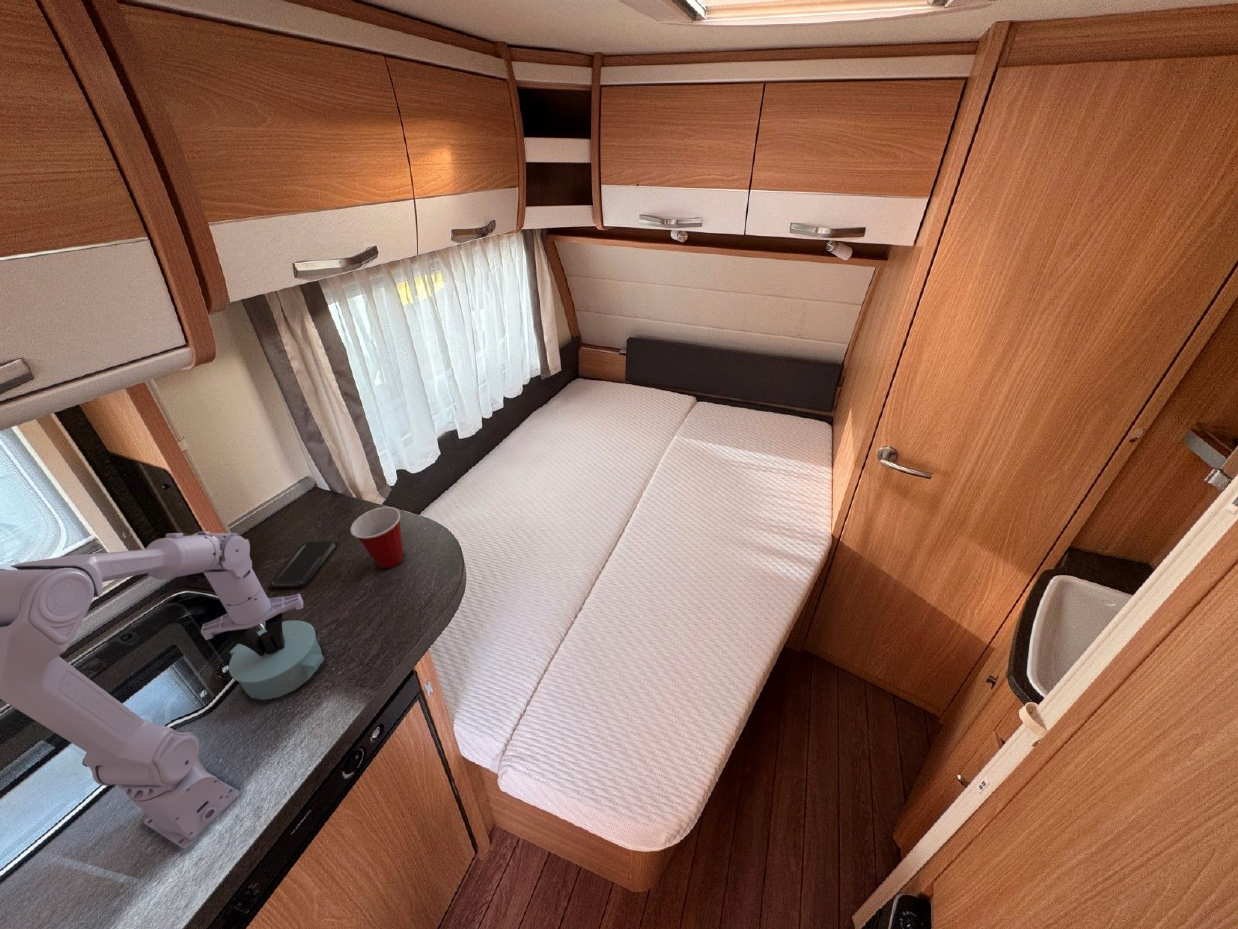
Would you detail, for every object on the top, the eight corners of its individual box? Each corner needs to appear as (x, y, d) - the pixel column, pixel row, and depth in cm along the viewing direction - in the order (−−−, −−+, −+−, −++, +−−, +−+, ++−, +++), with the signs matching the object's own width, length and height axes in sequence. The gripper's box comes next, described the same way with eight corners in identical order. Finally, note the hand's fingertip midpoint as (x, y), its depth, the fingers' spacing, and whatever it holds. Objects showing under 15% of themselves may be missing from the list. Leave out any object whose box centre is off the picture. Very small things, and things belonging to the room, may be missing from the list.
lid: (278, 692, 86) (268, 674, 84) (212, 679, 89) (200, 662, 86) (332, 629, 97) (325, 612, 95) (272, 620, 100) (263, 603, 98)
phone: (268, 584, 114) (304, 541, 127) (270, 588, 115) (306, 545, 127) (303, 583, 114) (335, 540, 127) (305, 587, 114) (337, 544, 127)
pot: (302, 709, 88) (290, 689, 86) (216, 692, 92) (202, 673, 89) (349, 650, 99) (340, 630, 96) (270, 637, 102) (260, 618, 100)
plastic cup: (358, 560, 122) (342, 520, 116) (402, 540, 128) (389, 500, 122) (374, 583, 115) (358, 542, 109) (420, 560, 121) (408, 520, 115)
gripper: (291, 564, 91) (317, 618, 98) (193, 593, 86) (228, 648, 93) (289, 589, 86) (317, 644, 93) (185, 622, 80) (222, 678, 87)
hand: (272, 648), depth 92 cm, fingers closed
